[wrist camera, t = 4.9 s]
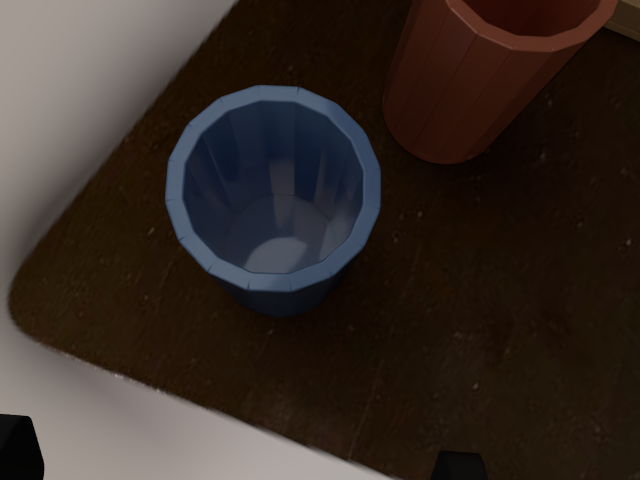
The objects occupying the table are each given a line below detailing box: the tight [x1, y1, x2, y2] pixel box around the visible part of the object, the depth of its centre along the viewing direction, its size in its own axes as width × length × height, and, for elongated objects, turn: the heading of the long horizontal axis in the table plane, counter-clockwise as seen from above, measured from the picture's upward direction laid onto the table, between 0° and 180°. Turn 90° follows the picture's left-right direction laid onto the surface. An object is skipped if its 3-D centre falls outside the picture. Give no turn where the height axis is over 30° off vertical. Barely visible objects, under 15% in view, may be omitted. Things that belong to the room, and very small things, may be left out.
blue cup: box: [165, 85, 381, 317], centre depth 20 cm, size 6×6×10 cm
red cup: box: [382, 0, 618, 164], centre depth 22 cm, size 6×6×10 cm
